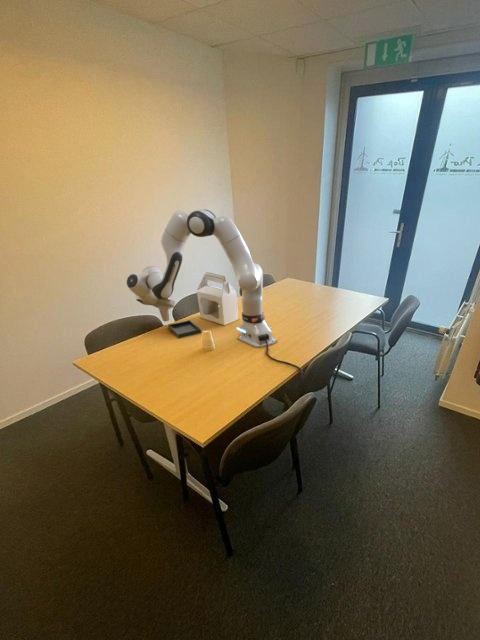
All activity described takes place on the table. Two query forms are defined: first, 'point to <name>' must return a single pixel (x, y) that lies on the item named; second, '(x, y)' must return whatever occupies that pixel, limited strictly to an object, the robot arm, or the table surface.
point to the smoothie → (164, 313)
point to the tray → (184, 329)
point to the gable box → (217, 300)
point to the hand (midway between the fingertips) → (164, 307)
